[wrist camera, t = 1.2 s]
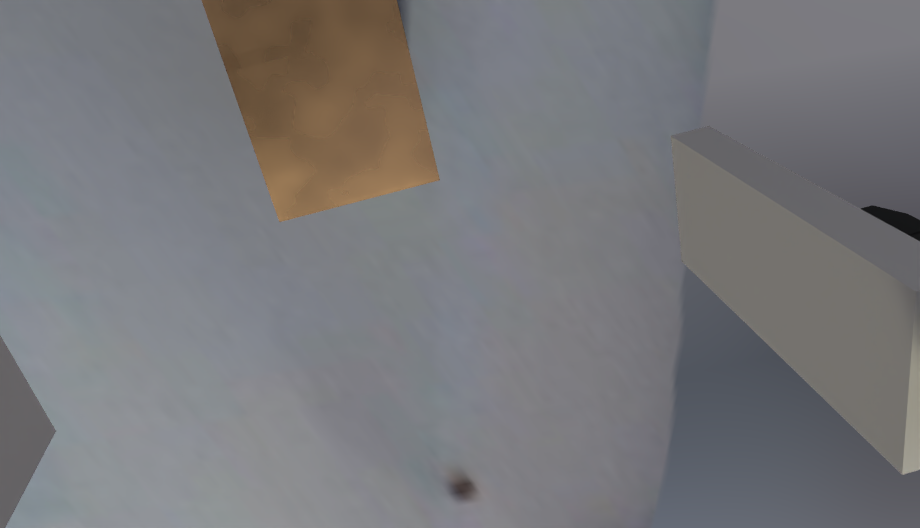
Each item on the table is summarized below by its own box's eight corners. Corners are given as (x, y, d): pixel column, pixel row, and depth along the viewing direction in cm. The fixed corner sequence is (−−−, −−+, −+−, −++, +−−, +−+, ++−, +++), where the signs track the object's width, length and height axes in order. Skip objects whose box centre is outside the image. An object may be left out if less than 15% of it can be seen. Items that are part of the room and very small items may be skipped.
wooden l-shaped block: (291, 135, 38) (279, 221, 27) (210, -114, 33) (155, -130, 22) (406, 105, 38) (439, 179, 27) (344, -146, 33) (354, -176, 22)
